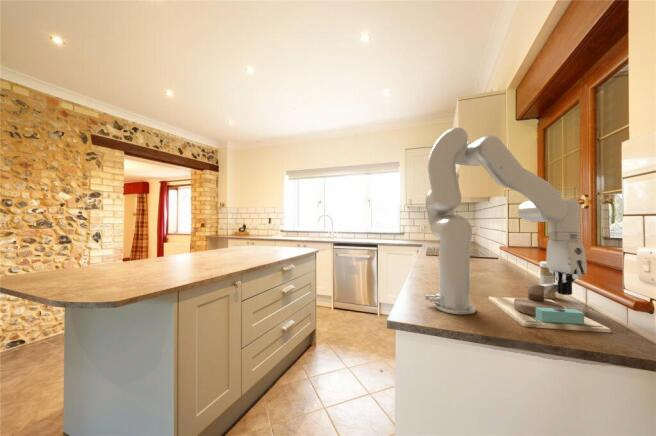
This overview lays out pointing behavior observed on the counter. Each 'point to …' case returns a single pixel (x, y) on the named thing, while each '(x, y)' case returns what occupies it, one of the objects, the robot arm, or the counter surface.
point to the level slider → (560, 315)
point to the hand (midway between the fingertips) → (564, 294)
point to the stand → (532, 321)
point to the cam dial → (537, 298)
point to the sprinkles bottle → (547, 279)
